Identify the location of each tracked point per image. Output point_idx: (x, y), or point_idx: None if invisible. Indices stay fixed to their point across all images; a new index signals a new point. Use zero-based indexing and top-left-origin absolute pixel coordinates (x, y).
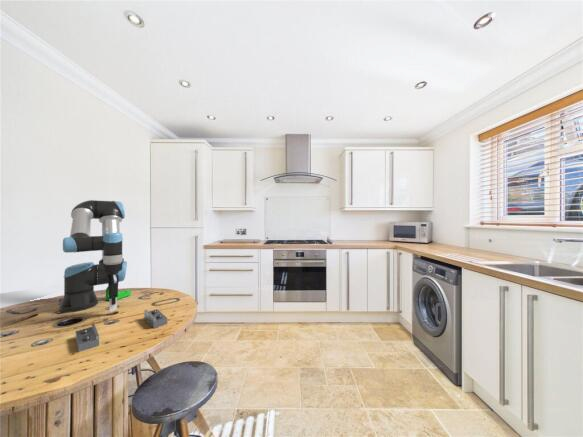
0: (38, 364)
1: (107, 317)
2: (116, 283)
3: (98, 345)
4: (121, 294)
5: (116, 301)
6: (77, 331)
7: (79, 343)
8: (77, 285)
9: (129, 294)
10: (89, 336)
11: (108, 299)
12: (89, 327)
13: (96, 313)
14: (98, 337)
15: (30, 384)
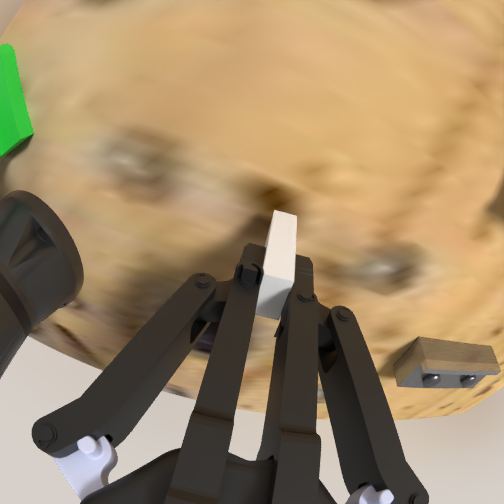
0: (422, 402)
1: (308, 255)
2: (394, 466)
3: (492, 350)
4: (7, 94)
5: (294, 255)
6: (405, 384)
7: (469, 386)
8: (6, 352)
9: (12, 51)
10: (475, 378)
11: (15, 147)
12: (417, 366)
13: (183, 254)
14: (498, 367)
15: (461, 404)
